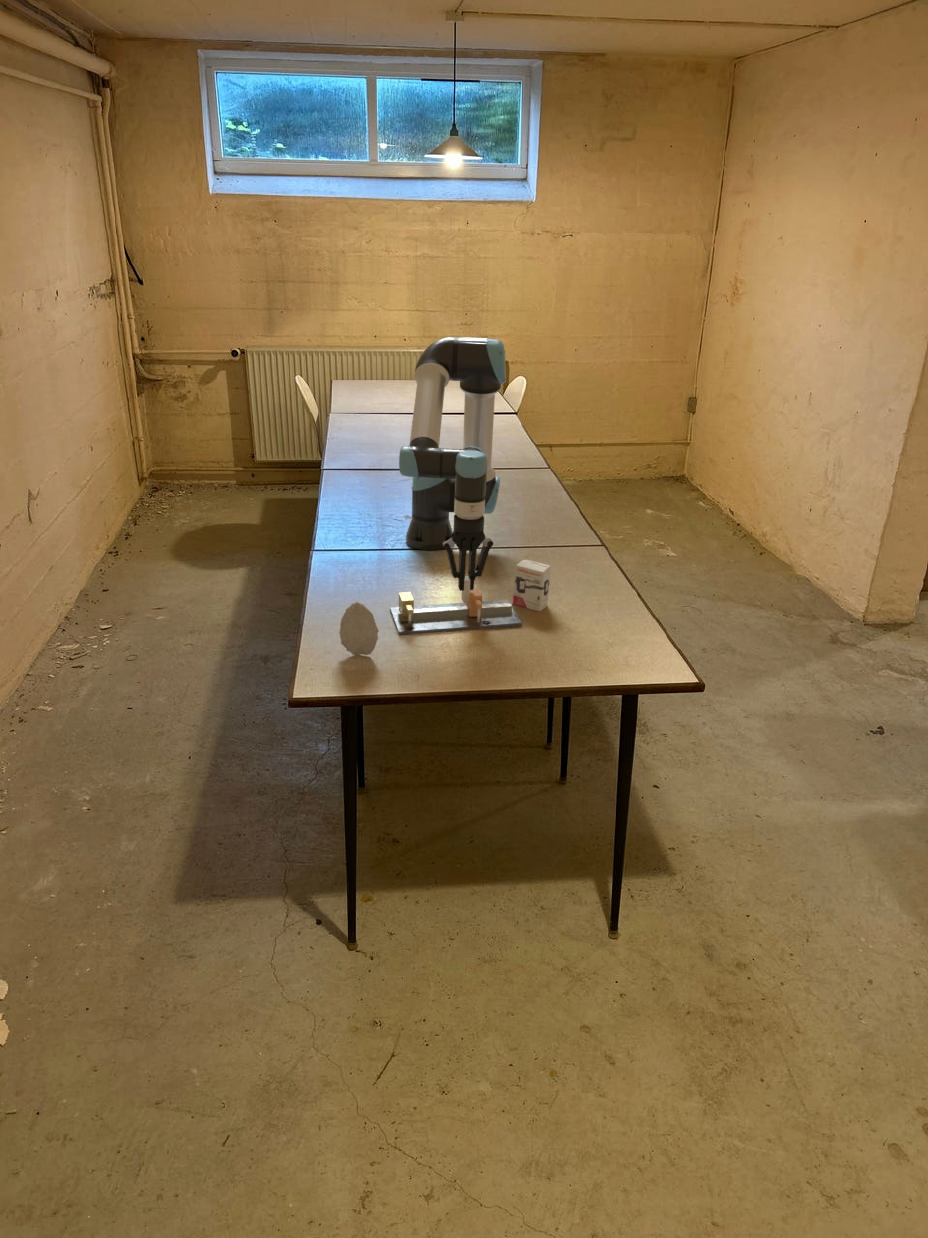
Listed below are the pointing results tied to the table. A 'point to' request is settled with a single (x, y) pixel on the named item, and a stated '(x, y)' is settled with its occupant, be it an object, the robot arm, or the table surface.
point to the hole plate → (455, 621)
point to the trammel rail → (442, 610)
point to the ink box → (531, 585)
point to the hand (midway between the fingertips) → (465, 600)
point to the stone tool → (358, 630)
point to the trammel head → (475, 604)
